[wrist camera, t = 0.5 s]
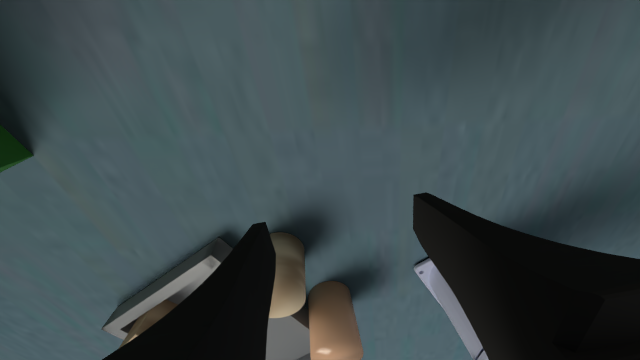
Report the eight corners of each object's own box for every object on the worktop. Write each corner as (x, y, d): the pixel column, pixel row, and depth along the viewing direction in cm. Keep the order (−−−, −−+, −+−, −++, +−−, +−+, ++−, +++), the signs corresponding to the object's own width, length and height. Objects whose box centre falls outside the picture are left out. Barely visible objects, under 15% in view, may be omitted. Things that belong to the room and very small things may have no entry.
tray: (343, 338, 32) (346, 357, 30) (256, 381, 35) (254, 402, 33) (218, 237, 23) (210, 255, 21) (117, 307, 26) (101, 329, 24)
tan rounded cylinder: (357, 297, 29) (372, 356, 23) (324, 315, 30) (330, 376, 24) (334, 274, 27) (344, 333, 21) (299, 294, 28) (299, 356, 22)
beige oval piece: (313, 253, 25) (317, 300, 20) (277, 275, 26) (272, 325, 21) (283, 223, 23) (279, 267, 18) (244, 249, 24) (231, 297, 19)
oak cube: (192, 310, 27) (176, 349, 23) (173, 328, 28) (155, 368, 24) (158, 295, 25) (135, 334, 22) (139, 315, 26) (114, 354, 23)
